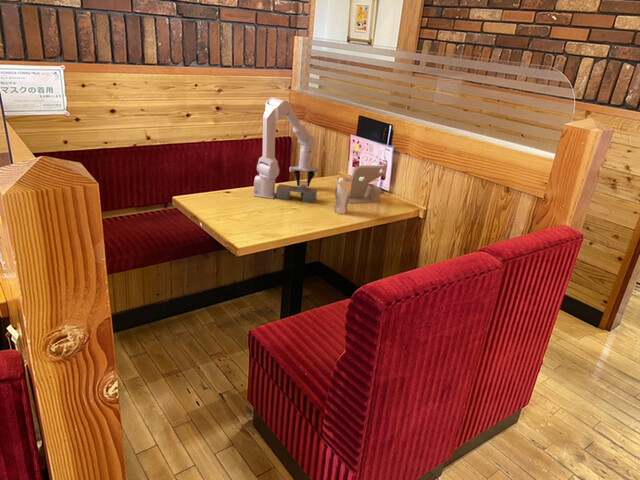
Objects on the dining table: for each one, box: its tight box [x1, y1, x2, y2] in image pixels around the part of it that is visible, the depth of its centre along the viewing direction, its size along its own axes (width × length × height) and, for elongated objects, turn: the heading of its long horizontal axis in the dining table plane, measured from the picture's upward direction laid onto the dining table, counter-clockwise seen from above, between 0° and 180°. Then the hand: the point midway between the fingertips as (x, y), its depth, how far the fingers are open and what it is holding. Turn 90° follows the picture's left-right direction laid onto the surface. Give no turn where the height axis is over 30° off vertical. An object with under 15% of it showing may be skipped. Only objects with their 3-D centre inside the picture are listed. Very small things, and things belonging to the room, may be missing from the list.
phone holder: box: [348, 165, 387, 205], centre depth 236 cm, size 17×10×18 cm, turn 112°
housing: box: [275, 183, 318, 204], centre depth 230 cm, size 18×6×5 cm, turn 82°
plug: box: [298, 180, 308, 198], centre depth 240 cm, size 4×14×4 cm, turn 4°
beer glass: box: [333, 176, 352, 215], centre depth 218 cm, size 7×7×15 cm
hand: (302, 185), depth 246 cm, fingers closed on plug, 4 cm apart
